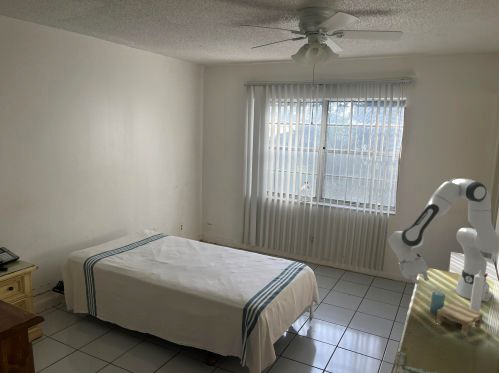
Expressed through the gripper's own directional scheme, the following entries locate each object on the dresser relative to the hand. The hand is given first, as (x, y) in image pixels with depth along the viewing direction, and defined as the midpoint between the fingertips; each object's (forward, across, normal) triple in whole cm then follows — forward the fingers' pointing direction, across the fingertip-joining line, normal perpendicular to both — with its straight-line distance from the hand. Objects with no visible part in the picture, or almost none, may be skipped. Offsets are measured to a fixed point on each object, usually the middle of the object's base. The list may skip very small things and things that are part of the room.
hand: (422, 282), depth 204 cm
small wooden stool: (+25, -4, -6) cm, 26 cm away
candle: (+25, +13, -6) cm, 29 cm away
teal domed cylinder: (+16, 0, +3) cm, 16 cm away
